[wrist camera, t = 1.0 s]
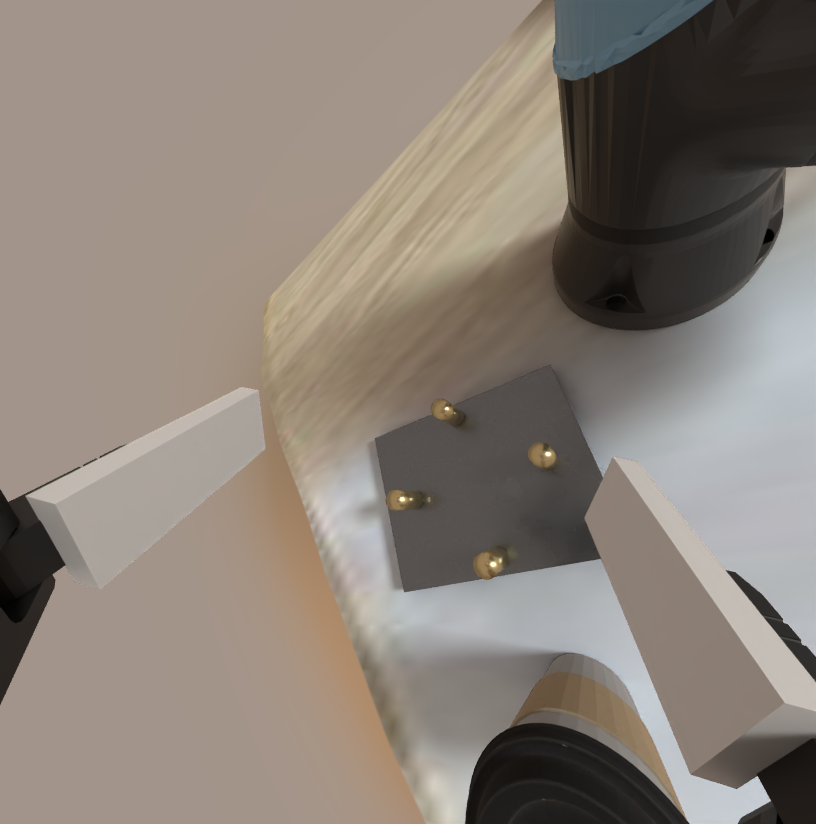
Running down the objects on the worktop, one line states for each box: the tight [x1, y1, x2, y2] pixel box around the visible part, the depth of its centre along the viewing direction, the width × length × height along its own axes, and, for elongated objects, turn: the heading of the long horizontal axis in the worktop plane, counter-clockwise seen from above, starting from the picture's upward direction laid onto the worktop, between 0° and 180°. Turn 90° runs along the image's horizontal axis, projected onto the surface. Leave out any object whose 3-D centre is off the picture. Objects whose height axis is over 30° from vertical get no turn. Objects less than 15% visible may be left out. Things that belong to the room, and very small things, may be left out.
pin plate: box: [375, 365, 603, 592], centre depth 28 cm, size 20×16×6 cm
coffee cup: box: [465, 654, 689, 824], centre depth 17 cm, size 9×9×15 cm
